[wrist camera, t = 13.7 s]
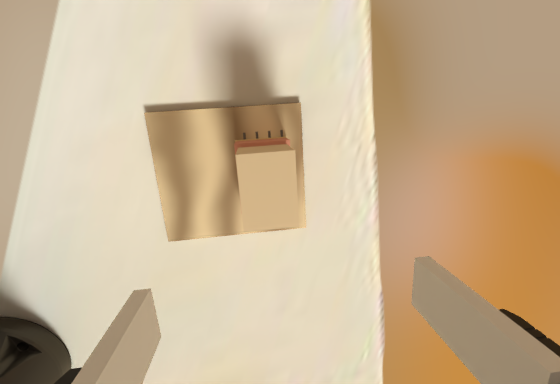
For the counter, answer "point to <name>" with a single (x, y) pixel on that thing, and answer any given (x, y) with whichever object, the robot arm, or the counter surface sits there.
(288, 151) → the block
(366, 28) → the counter surface
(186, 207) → the board
